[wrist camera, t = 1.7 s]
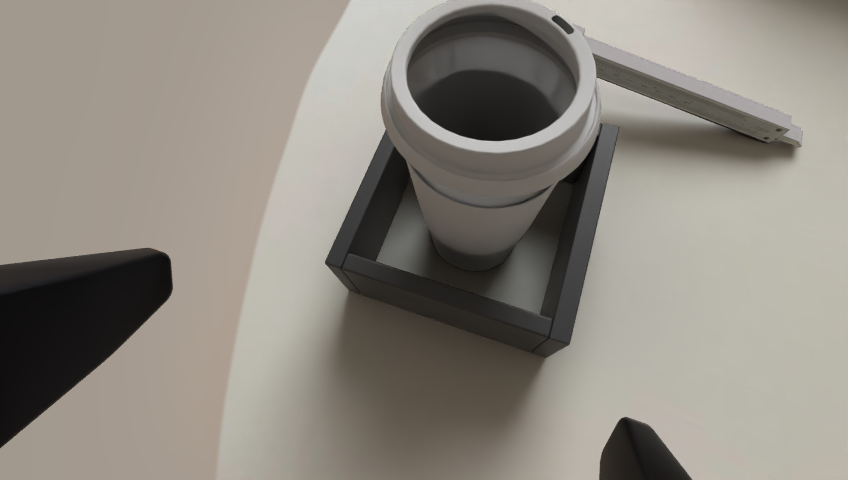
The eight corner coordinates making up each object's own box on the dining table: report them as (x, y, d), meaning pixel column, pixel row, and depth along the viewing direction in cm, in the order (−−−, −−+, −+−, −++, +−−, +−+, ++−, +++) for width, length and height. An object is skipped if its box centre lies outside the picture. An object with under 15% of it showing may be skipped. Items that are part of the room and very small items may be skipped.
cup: (564, 248, 22) (671, 88, 11) (462, 318, 21) (470, 220, 10) (483, 155, 25) (506, -49, 14) (388, 215, 24) (330, 46, 13)
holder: (546, 358, 20) (569, 345, 16) (348, 290, 22) (323, 263, 18) (591, 176, 24) (619, 126, 20) (416, 131, 26) (408, 77, 22)
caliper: (451, 68, 28) (450, -23, 22) (457, 56, 28) (457, -37, 22) (795, 150, 24) (906, 66, 18) (797, 135, 24) (906, 47, 18)
